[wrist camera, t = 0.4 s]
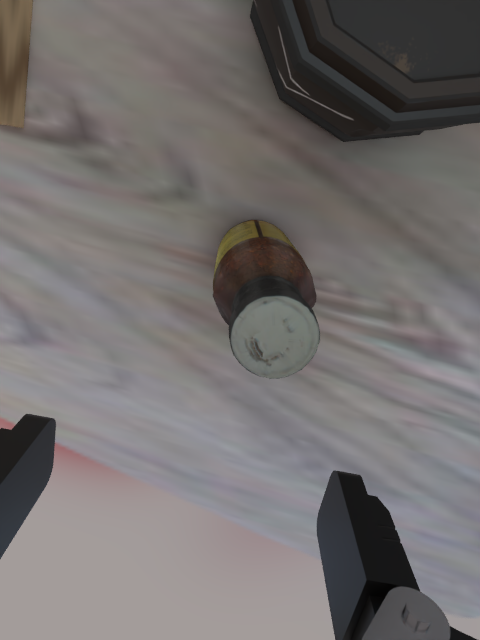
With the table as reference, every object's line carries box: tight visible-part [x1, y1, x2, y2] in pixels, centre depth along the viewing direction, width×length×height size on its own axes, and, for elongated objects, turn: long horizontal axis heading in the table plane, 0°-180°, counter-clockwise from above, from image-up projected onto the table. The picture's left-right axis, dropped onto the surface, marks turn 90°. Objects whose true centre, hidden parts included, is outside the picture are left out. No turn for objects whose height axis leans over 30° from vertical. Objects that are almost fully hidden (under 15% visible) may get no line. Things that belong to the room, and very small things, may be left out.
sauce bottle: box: [213, 220, 320, 379], centre depth 29 cm, size 6×6×20 cm
